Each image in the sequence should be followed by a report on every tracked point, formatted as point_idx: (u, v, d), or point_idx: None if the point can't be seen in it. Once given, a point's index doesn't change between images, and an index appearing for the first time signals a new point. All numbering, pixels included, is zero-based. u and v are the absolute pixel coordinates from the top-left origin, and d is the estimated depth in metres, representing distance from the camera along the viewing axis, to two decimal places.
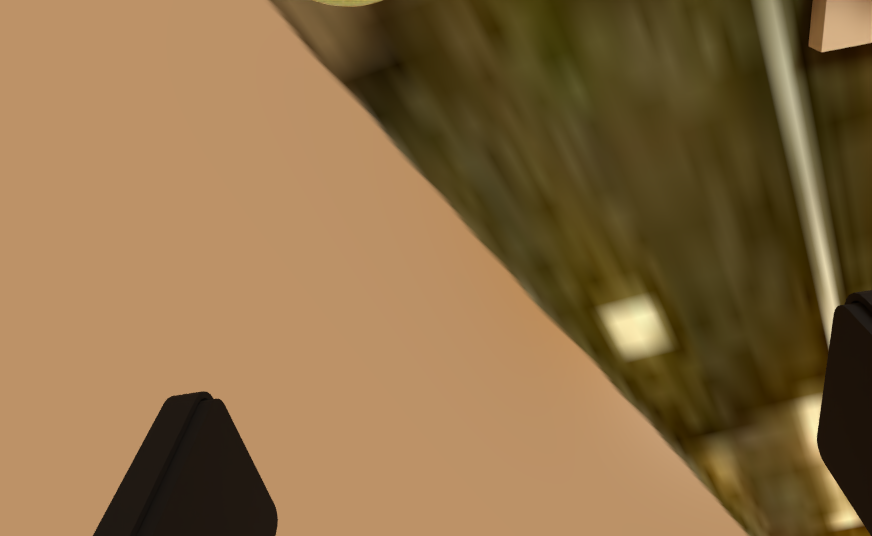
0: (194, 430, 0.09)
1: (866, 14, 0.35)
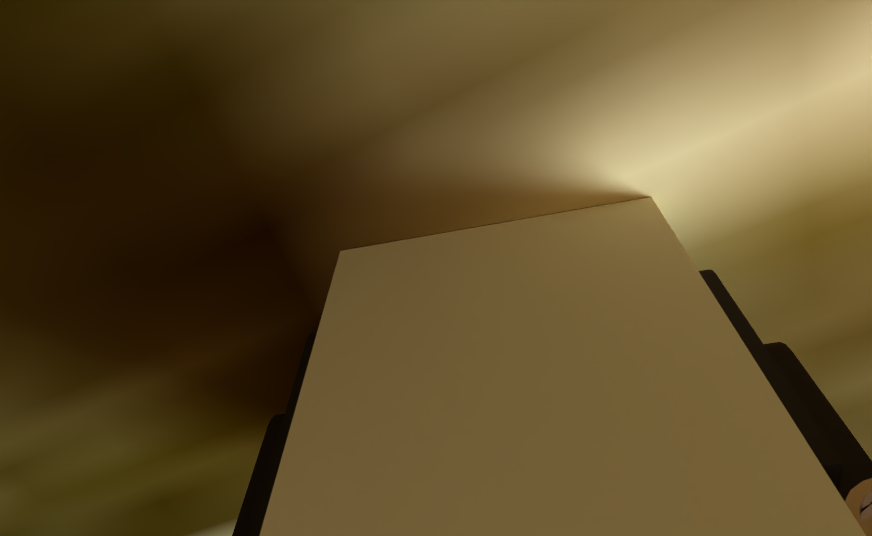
0: None
1: None
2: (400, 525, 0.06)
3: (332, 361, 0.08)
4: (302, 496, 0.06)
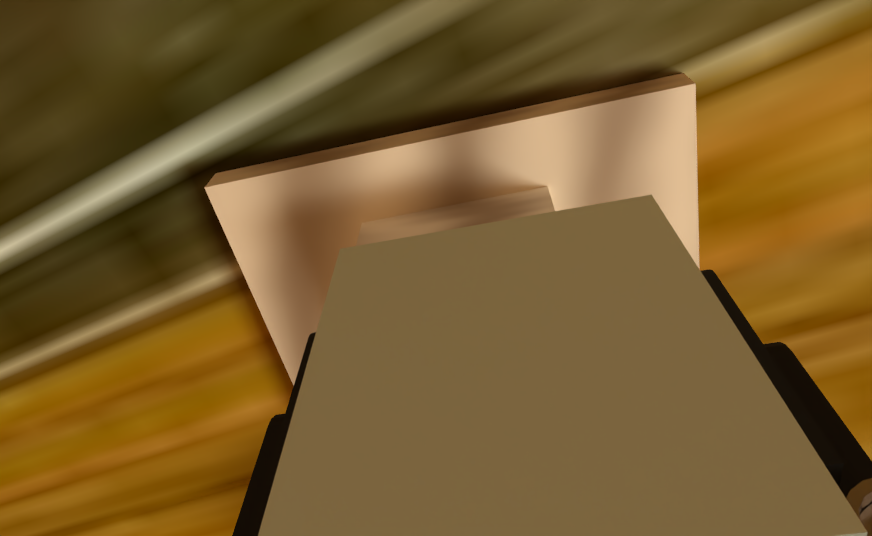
0: None
1: (258, 225, 0.28)
2: (399, 523, 0.06)
3: (332, 358, 0.08)
4: (301, 493, 0.06)
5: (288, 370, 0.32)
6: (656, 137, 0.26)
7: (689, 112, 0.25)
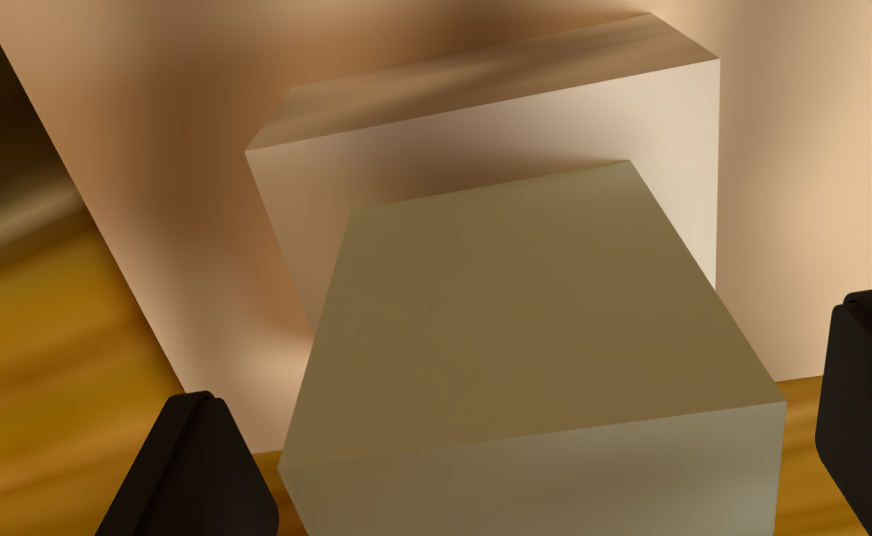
0: (196, 429, 0.09)
1: (95, 89, 0.15)
2: (408, 410, 0.07)
3: (347, 295, 0.09)
4: (325, 393, 0.07)
5: (175, 367, 0.19)
6: None
7: None
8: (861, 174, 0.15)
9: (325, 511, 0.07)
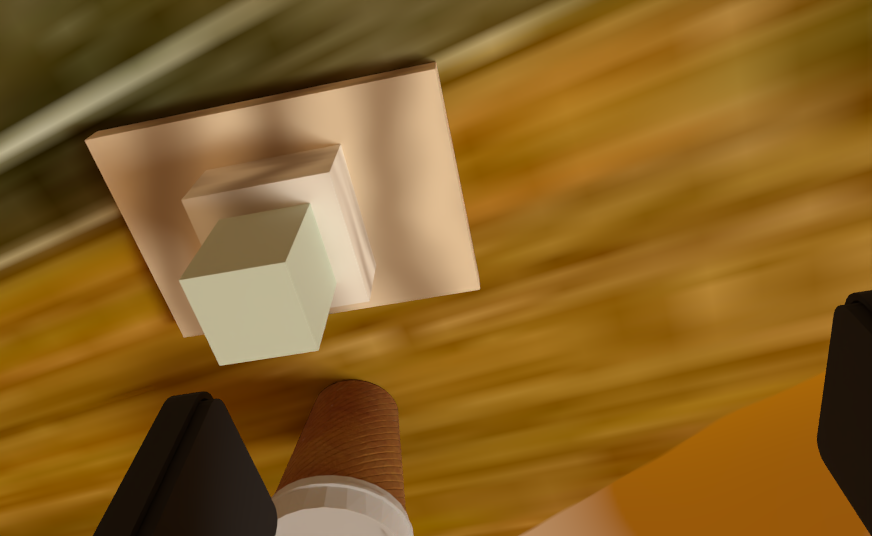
0: (194, 430, 0.09)
1: (127, 170, 0.37)
2: (211, 268, 0.29)
3: (207, 245, 0.32)
4: (193, 266, 0.30)
5: (161, 290, 0.41)
6: (414, 108, 0.35)
7: (435, 90, 0.34)
8: (441, 203, 0.38)
9: (191, 292, 0.29)
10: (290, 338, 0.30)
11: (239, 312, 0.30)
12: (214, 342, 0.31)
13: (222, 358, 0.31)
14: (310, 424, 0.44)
